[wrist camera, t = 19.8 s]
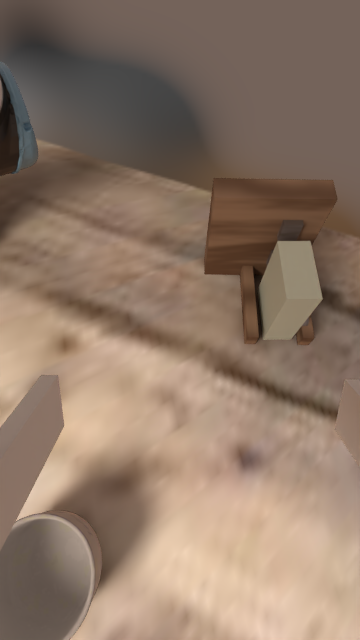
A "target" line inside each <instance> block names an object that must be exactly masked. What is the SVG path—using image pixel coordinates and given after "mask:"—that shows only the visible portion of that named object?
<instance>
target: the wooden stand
mask: <svg viewBox="0 0 360 640" xmlns="http://www.w3.org/2000/svg"><path fill="white" fill-rule="evenodd" d="M336 201H337V195H336V191H335V187H334V182H333V180H294V179H293V180H292V179H231V178H227V179H226V178H214V181H213V188H212V197H211V206H210V214H209V223H208V231H207V240H206V249H205V257H204V265H205V274H223V275H240V283H241V298H242V313H243V327H244V342H245V344H255V343H256V342H257V340H258V338H259V332H258V321H257V309H256V298H255V286H254V275H264V273H265V270H266V268H267V265H268V263H269V261H270V258H271V256H272V253H273V251H274V248H275V246H276V244H277V241H311V246H312V244H313V242H314V240H315V239H316V237H317V235H318V233H319V231H320V230H321V228H322V226H323V224H324V223H325V221H326V219H327V217H328V215H329V214H330V212H331V210H332V208H333V207H334V205H335V203H336ZM296 336H297V344H298V345H309V344H310V342H311V341H312V340H313V339H314V332H313V325H312V319H311V315H310V316H309V323H308V325H307V326H301V327H300V329H299V330H298V331H297V332H296Z"/></svg>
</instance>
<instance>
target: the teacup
mask: <svg viewBox="0 0 360 640" xmlns="http://www.w3.org/2000/svg"><path fill="white" fill-rule="evenodd" d="M101 570H102V553H101V547H100V543H99V540H98V537H97V535H96V533H95V531H94V530H93V528H92V527H91V526H90V525H89V523H88V522H87V521H85V520H84V519H83V518H82V517H80V516H78V515H76V514H74V513H71V512H68V511H60V510H57V511H47V512H43V513H39V514H34V515H30V516H27V517H24V518H22V519H20V520H18V521H16V522H15V523H14V525H13V527H12V529H11V531H10V533H9V535H8V537H7V539H6V541H5V543H4V545H3V547H2V549H1V551H0V640H70V639H71V637H72V636H73V635H74V634H75V633H76V631H77V630H78V629H79V627H80V626H81V624H82V622H83V621H84V619H85V617H86V614H87V612H88V610H89V607H90V604H91V602H92V600H93V598H94V595H95V593H96V590H97V587H98V584H99V581H100V576H101Z"/></svg>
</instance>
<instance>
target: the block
mask: <svg viewBox="0 0 360 640" xmlns="http://www.w3.org/2000/svg"><path fill="white" fill-rule="evenodd" d="M257 294H258V303H259V311H260V320H261V328H262V337H263V340H291V339H292V337H293V336H294V335H295V334H296V332H297V331H298V330H299V329H300V327H301V326H307V325H308V323H309V316H310V315H311V313H312V312H313V311H314V309H315V308H316V307H317V306H318V304H319V303H320V302H321V301H322V299H323V298H322V293H321V289H320V284H319V279H318V274H317V270H316V265H315V260H314V255H313V250H312V246H311V241H277V244H276V246H275V248H274V251H273V253H272V256H271V258H270V261H269V263H268V265H267V268H266V270H265V273H264V275H263V278H262V280H261V283H260V285H259V287H258V290H257Z"/></svg>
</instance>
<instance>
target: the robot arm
mask: <svg viewBox="0 0 360 640" xmlns="http://www.w3.org/2000/svg"><path fill="white" fill-rule="evenodd" d="M37 159H38V147H37V142H36V138H35V135H34V131H33V128H32V126H31V124H30V119H29V116H28V112H27V109H26V106H25V103H24V100H23V98H22V95H21V93H20V90H19V88H18V85H17V83H16V81H15V78H14V76H13V74H12V72H11V70H10V69H9V67H8V66H7V65H6V64H4V63H2V62H0V176H2V175H6V174H9V173H11V174H15V173H18V172H19V171H20V170H22V169H24V168H27V167H30V166H32V165H34V164H35V163H36V161H37ZM63 427H64V420H63V412H62V403H61V395H60V387H59V379H58V375H41V376H40V377H39V379H38V380H37V381H36V383H35V384H34V385H33V386H32V388H31V389H30V390H29V392H28V393H27V394H26V395H25V397H24V398H23V399H22V401H21V402H20V403H19V404H18V406H17V407H16V408H15V410H14V411H13V412H12V413H11V415H10V416H9V417H8V418H7V420H6V421H5V422H4V424H3V425H2V426H1V427H0V551H1V549H2V547H3V545H4V543H5V541H6V539H7V537H8V535H9V533H10V531H11V529H12V527H13V525H14V523H15V521H16V519H17V517H18V515H19V513H20V511H21V509H22V507H23V505H24V503H25V502H26V500H27V498H28V496H29V494H30V492H31V490H32V488H33V486H34V484H35V482H36V480H37V478H38V476H39V474H40V472H41V470H42V468H43V466H44V464H45V462H46V460H47V458H48V456H49V454H50V452H51V451H52V449H53V447H54V445H55V443H56V441H57V439H58V437H59V435H60V433H61V431H62V429H63ZM335 430H336V432H337V434H338V435H339V437H340V438H341V440H342V441H343V443H344V444H345V446H346V447H347V449H348V450H349V452H350V453H351V455H352V457H353V458H354V460H355V461H356V463H357V464H358V466H359V467H360V380H359V379H345V381H344V386H343V391H342V396H341V401H340V406H339V411H338V416H337V421H336V426H335Z"/></svg>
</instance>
